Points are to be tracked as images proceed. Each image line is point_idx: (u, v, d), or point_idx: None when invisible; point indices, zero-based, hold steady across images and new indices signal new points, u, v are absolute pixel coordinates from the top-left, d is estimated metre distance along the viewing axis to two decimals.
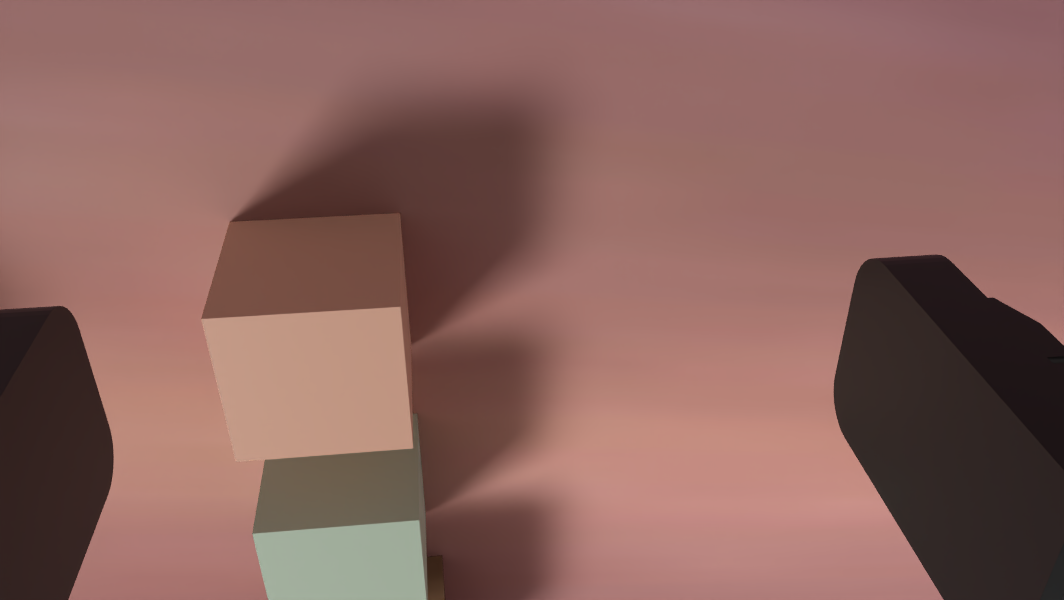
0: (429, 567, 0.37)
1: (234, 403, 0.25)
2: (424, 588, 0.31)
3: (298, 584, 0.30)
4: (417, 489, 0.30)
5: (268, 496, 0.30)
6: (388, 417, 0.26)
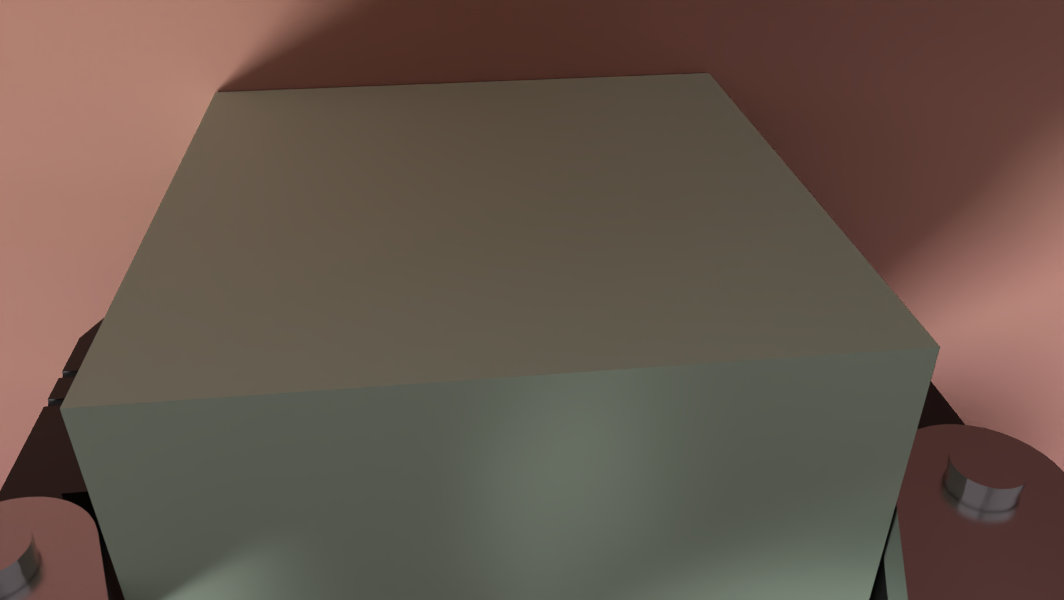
0: None
1: None
2: None
3: None
4: (846, 243, 0.07)
5: (174, 267, 0.06)
6: None
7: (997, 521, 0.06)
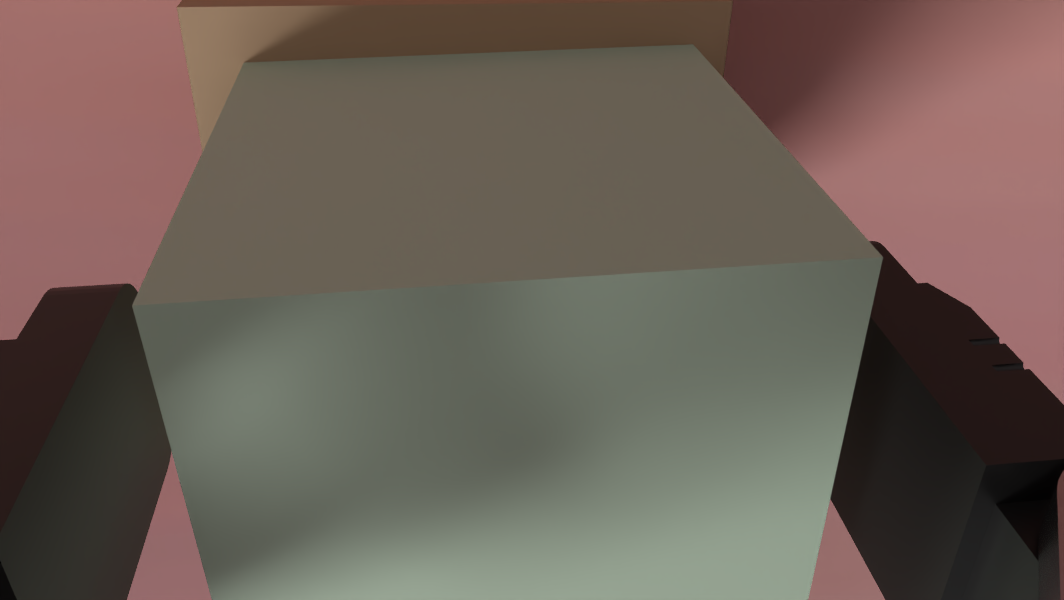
0: None
1: None
2: (806, 582, 0.08)
3: (343, 566, 0.07)
4: (809, 180, 0.08)
5: (219, 201, 0.07)
6: None
7: None
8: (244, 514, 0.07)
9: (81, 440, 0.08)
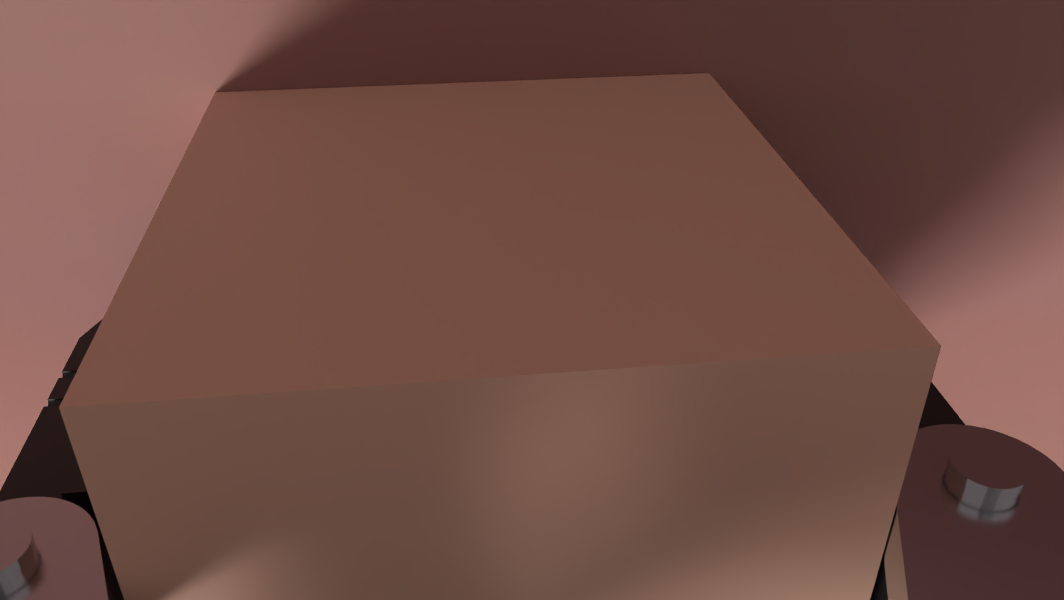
0: None
1: None
2: None
3: None
4: None
5: None
6: None
7: (997, 521, 0.06)
8: None
9: None
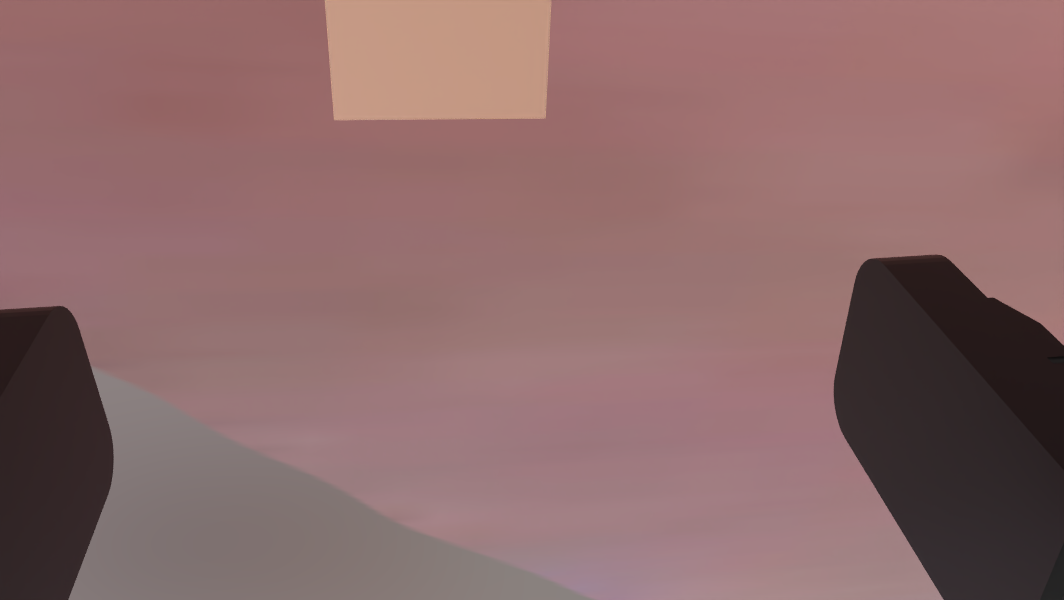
0: None
1: (342, 28, 0.21)
2: None
3: None
4: None
5: None
6: (522, 67, 0.22)
7: None
8: None
9: None
